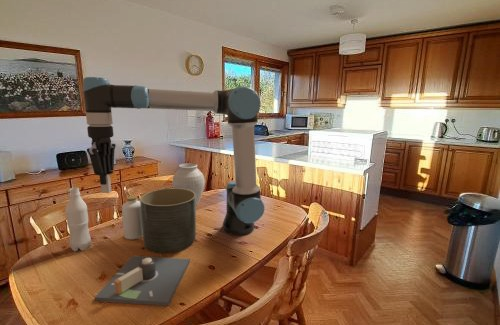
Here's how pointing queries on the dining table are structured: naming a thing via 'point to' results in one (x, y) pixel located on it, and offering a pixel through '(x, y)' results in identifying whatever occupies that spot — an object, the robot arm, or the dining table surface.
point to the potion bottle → (132, 218)
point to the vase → (189, 179)
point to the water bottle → (77, 221)
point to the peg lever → (136, 275)
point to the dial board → (147, 282)
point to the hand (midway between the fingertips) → (106, 192)
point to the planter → (168, 219)
